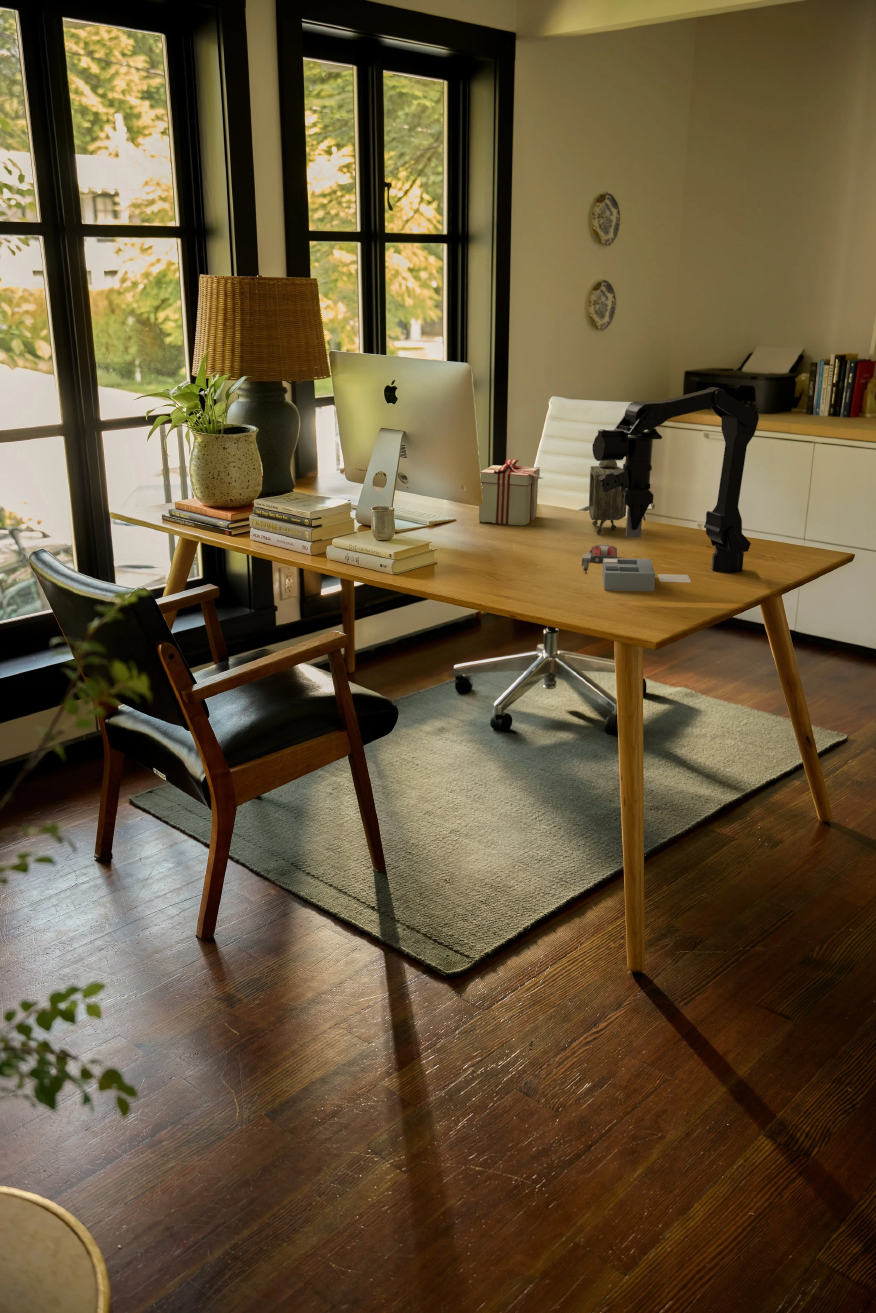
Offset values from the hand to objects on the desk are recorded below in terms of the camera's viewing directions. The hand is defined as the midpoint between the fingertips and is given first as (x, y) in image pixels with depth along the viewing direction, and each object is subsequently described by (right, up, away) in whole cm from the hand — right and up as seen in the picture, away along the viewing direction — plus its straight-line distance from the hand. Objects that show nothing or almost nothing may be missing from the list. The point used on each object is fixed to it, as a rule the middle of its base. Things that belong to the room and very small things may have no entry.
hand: (633, 528), depth 248 cm
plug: (0, -2, +1) cm, 2 cm away
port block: (-1, -13, +1) cm, 13 cm away
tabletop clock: (+3, +6, +60) cm, 60 cm away
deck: (+10, -12, +5) cm, 17 cm away
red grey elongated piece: (-5, -7, +22) cm, 24 cm away
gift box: (-22, +11, +75) cm, 79 cm away
